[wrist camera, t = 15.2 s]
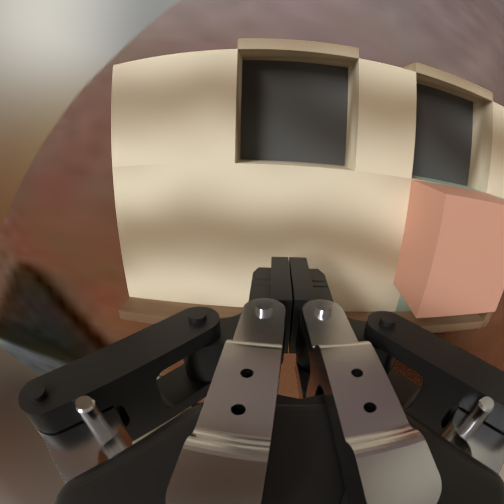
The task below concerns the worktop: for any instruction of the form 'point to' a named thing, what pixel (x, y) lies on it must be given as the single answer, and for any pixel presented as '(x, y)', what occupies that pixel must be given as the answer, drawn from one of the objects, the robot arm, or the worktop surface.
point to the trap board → (286, 171)
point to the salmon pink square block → (451, 251)
